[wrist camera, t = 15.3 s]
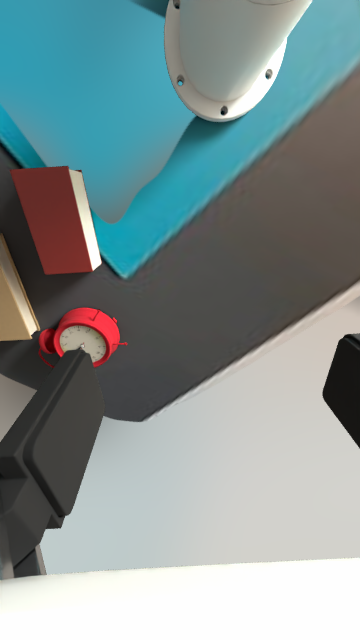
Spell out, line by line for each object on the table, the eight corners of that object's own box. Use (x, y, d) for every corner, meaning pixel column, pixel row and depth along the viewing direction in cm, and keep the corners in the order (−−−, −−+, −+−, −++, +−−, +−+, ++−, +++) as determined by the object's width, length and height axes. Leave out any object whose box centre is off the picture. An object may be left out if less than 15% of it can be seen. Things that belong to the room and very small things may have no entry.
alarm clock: (133, 351, 38) (58, 399, 38) (132, 335, 44) (67, 377, 44) (93, 301, 34) (8, 355, 34) (98, 291, 40) (25, 337, 40)
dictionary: (31, 173, 29) (9, 169, 26) (81, 170, 29) (67, 165, 25) (59, 266, 35) (45, 274, 31) (101, 263, 35) (92, 271, 31)
